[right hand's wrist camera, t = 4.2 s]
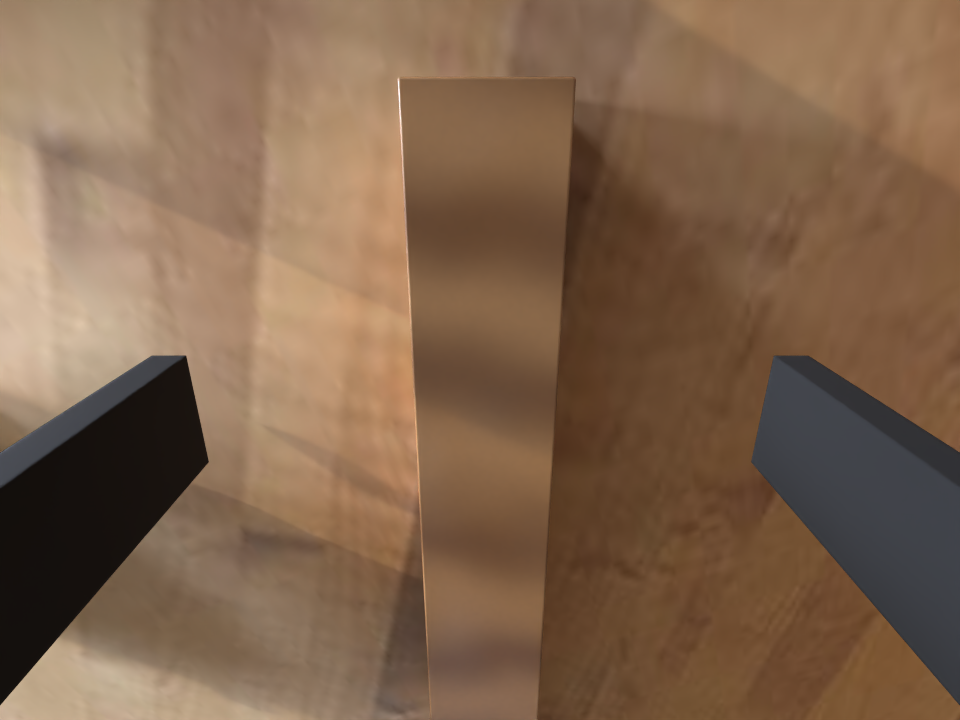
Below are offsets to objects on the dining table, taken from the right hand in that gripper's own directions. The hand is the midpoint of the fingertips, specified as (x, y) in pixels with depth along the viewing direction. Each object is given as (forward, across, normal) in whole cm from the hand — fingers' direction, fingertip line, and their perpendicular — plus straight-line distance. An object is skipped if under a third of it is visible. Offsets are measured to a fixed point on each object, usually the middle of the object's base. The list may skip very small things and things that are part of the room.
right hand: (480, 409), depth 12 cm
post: (+15, 0, -21) cm, 26 cm away
